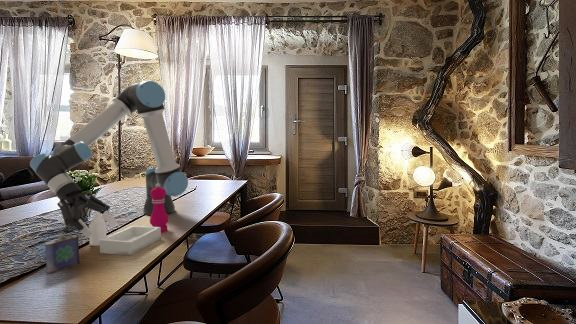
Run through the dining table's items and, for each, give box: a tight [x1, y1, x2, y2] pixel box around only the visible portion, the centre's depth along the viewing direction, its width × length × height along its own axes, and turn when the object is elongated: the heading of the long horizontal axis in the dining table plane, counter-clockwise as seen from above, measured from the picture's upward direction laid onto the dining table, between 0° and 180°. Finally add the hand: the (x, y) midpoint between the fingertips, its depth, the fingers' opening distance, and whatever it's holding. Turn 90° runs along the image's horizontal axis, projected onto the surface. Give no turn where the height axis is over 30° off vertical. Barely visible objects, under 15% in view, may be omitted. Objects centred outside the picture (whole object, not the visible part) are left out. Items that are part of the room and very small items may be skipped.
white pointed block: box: [88, 212, 107, 246], centre depth 125 cm, size 6×12×6 cm
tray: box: [99, 225, 162, 256], centre depth 123 cm, size 18×12×4 cm, turn 170°
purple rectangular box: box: [44, 232, 80, 275], centre depth 103 cm, size 9×3×11 cm, turn 151°
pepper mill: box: [149, 183, 169, 234], centre depth 140 cm, size 7×7×20 cm
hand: (103, 230), depth 125 cm, fingers open, 12 cm apart
